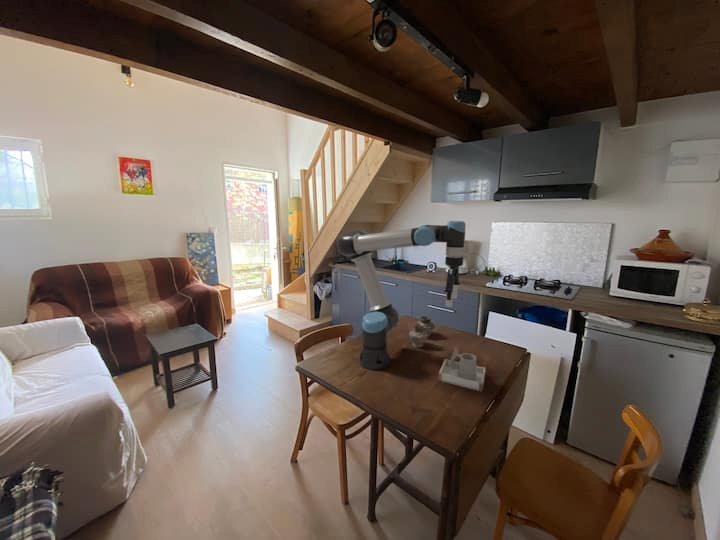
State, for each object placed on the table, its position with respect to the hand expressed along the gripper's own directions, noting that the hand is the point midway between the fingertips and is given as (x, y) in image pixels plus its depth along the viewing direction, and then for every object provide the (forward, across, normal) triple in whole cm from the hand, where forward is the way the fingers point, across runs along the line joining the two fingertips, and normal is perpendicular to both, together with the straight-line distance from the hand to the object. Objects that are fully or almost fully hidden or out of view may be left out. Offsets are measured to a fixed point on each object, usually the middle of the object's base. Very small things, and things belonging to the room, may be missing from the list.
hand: (451, 302), depth 134 cm
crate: (+31, -10, -8) cm, 33 cm away
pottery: (+31, +20, +18) cm, 41 cm away
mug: (+30, -9, -8) cm, 32 cm away
